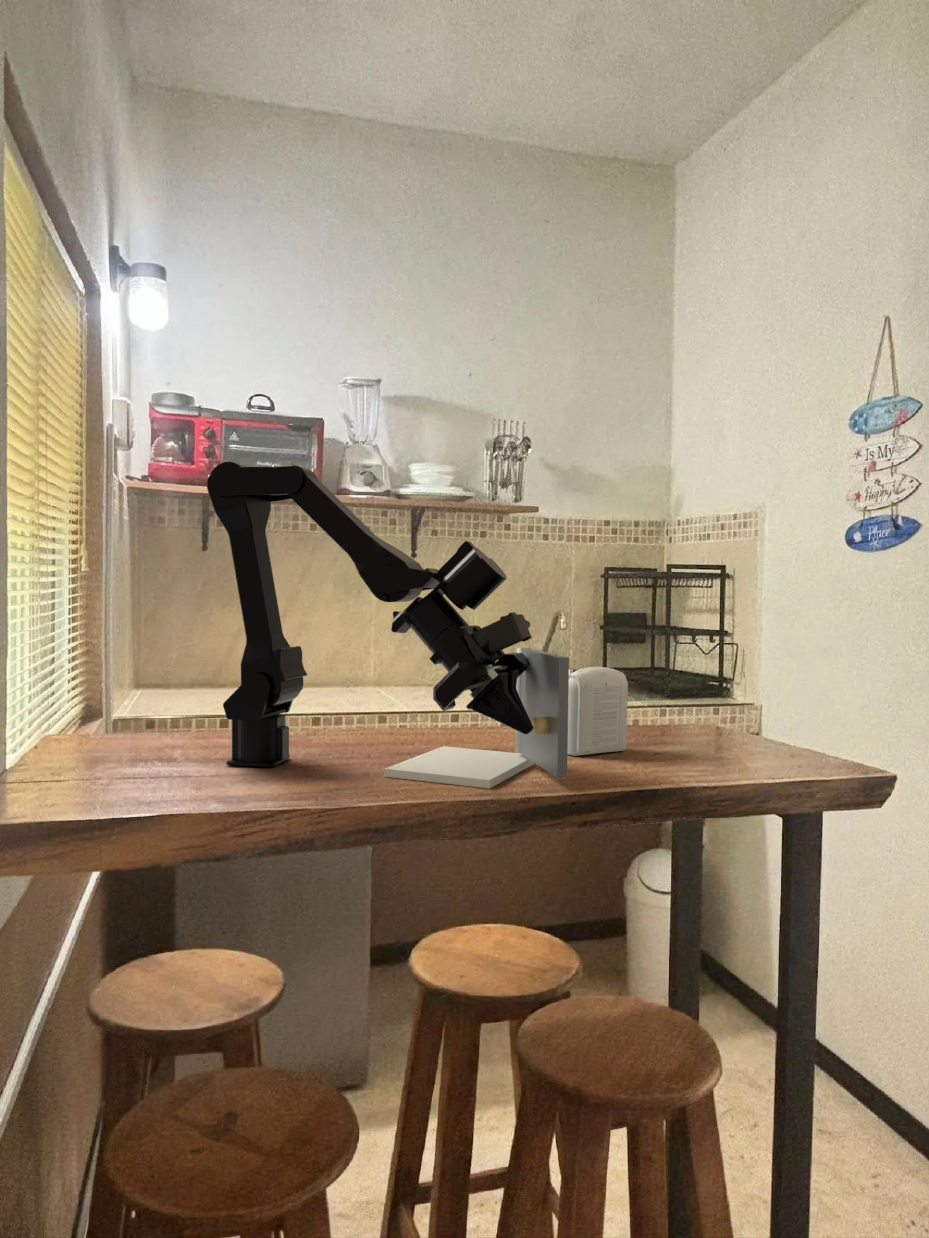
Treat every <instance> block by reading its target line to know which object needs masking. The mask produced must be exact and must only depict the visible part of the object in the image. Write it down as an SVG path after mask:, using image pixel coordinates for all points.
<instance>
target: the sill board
mask: <svg viewBox="0 0 929 1238" xmlns="http://www.w3.org/2000/svg"><path fill="white" fill-rule="evenodd" d="M535 764H536V763H534V762H533V761H531V760H530V759H528V758H527V757H525V756H524V755H522V754H521V753H517V752H508V751H507V752H506V751H499V750H490V749H489V750H486V749H477V748H476V749H475V748H465V747H457V746H455V747H454V746H445V745H443V746H440V747H437V748H434V749H432V750H430V751H428V752H424V753H422V754H420V755H417V756H415V757H414V756H413V757H411V758H409V759H406V760H403V761H402V762H398V763H396V764H393V765H390V766H388V767H385V768H384V777H385V778H393V779H402V780H410V781H419V782H420V781H421V782H427V783H428V782H430V783H435V784H444V785H445V784H446V785H453V786H454V785H455V786H462V787H463V786H465V787H472V788H481V789H482V788H483V789H492V788H494V787H495V786H496V785H499V784H500V783H502V782H504V781H506V780H509V778H512V777H513V776H515V775H517V774H518V773H520V772H522V771H523V770H526V769H528V768H529V767H531V766H533V765H535Z"/></svg>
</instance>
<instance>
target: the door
mask: <svg viewBox="0 0 929 1238" xmlns="http://www.w3.org/2000/svg"><path fill="white" fill-rule="evenodd" d="M516 653H523V654H524V655H525V656H526V657H527V658H528V661H529V663H530V664H529V666H528V667H527V669H526V670H525V671H524V672H523V673H522V674H521V675H520V676H519V677H518V678H517V684H516V689H517V692H518V694H519V697H520V699H521V701H522V704H523V706H524V708H525V710H526V712H527V714H528V716H529V719H530V721H531V723H532V725H533V727H534V729H533V730H532V731H531V732H530V733H529V734H523V733H521V732H519V731H517V730H515V729H514V731H515V732H514V733H515V736H514V737H515V739H514V740H515V741H514V742H515V744H514V747H515V748H514V750H515V751H514V753H521V754H522V755H524V756H525V757H527V758H528V759H530V760H531V761H533V762H534V763H535V764H536V765H537V766H539V767H540V768H541V769H543V770H545V771H546V772H548V773H550V774H551V775H552V776H554V777H556V778H557V779H559V778H560V779H562V778H564V779H565V778H568V754H567V752H568V690H569V674H570V657H568V656H564V655H558V654H555V653H551V652H546V651H542V650H539V649H533V648H532V647H516Z"/></svg>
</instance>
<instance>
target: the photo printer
mask: <svg viewBox="0 0 929 1238" xmlns="http://www.w3.org/2000/svg"><path fill="white" fill-rule="evenodd" d="M628 689H629V684H628V680H627V677H626V675H625V673H624V672H622V671H619V670H617V669H616V668H615V669H614V668H611V667H605V666H604V667H603V666H589V667H585V668H580V669H577V670H576V671H573V672H570V673H569V690H568V752H567V756H573V757H579V756H587V755H596V754H605V753H606V754H607V753H613V752H614V753H615V752H624V751H625V750H626V749H627V739H628V738H627V736H628V735H627V734H628V733H627V730H628V727H627V726H628V725H627V724H628V698H629V697H628V695H629V694H628V693H629V692H628V691H629V690H628Z"/></svg>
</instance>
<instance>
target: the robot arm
mask: <svg viewBox="0 0 929 1238" xmlns="http://www.w3.org/2000/svg"><path fill="white" fill-rule="evenodd" d="M206 479H207V480H206V489H207V493H208V495H209V500H210V502H211V505H212V508H213V511H214V513H215V515H216V517H217V518H218V520H219V521H220V523H221V524H222V526H223V527H224V529H225V531H226V532H227V535H228V538H229V545H230V550H231V556H232V562H233V563H232V564H233V568H234V574H235V581H236V586H237V587H236V588H237V592H238V599H239V603H240V610H241V615H242V621H243V627H244V632H245V642H246V643H245V645H244V650H243V653H242V654H243V655H242V658H241V662H240V686H238V688H237V689H235V690H234V692H233V693H232V694H231V695H230V696H229V697H228V698H227V699H226V700H225V701H224V702H223V704H222V707H223V711H224V713H225V717H226V720H229V721H231V758H230V759H228V760H226V761H225V762H226V766H238V767H239V766H243V767H264V768H265V767H266V768H273V767H276V766H278V765H279V764H282V763H283V762H285V761H287V760H288V759H290V758H291V755H290V727H289V725H286V713H290V711H291V707H292V705H293V701H294V700H295V699H297V697H298V696H299V694H300V693H301V691H303V688H304V677H306V676H308V673H307V671H306V669H305V668H304V663H303V650H302V649H303V648H302V647H301V646H300V645H298V646H297V645H296V646H291V645H290V644H289V642H288V640H287V639H286V638H285V635H284V633H283V627H282V622H281V615H280V614H281V613H280V610H279V609H280V608H279V604H278V598H277V592H276V585H275V580H274V574H273V568H272V563H271V556H270V552H269V546H268V545H269V544H268V540H267V534H266V533H267V532H266V529H267V525H268V521H269V518H270V514H271V509H272V507H271V503H273V502H285V501H289V500H293V502H294V503H295V504H297V506H299V508H300V509H301V510H303V511H304V513H305V514H307V516H309V517H310V519H312V520H313V521H314V522H315V523H316V524H317V525H318V526H319V528H320V529H322V530H323V531H324V532H325V533H326V534H327V535H328V536H329V537H330V538H331V539H332V541H334V543H336V544H337V545H338V546H339V547H340V548H341V549H342V550H343V551H344V552H345V553H346V554H347V555H348V556H349V558H350V559H351V561H352V562H353V564H354V567H355V569H356V570H357V573H358V574H359V576H360V578H361V580H362V581H363V582H364V583H365V585H366V587H367V588H368V589H369V591H370V592H371V593H372V595H373V596H374V597H375V598H376V599H378V600H379V601H382V602H384V603H400V602H401V603H405V602H411V601H412V602H411V603H410V604H409V605H407V607H406V608H404V609H403V610H402V611H396V610H394V611H393V612H392V616H393V617H392V618H393V619H392V624H391V629H390V630H391V633H397V634H406V633H407V632H409V630H410V629H411V630H412V631H413V633H415V635H416V636H417V637H418V638H419V640H420V641H421V642H422V643H423V644H424V645H425V646H426V648H427V649H428V650H429V651H430V652H431V654H432V655H431V656H430V657H429V660H430V661H431V662H432V663H433V665H440V664H441V665H442V666H443V668H444V669H445V670H446V671H447V673H446V674H445V675H444V677H442V679H441V680H440V681H439V682H437V683H436V685H434V686H433V687H432V688H433V689H432V690H433V691H432V692H433V693H432V694H433V695H432V699H433V701H434V702H435V703H436V704H437V706H438V707H439V708H440V709H441V710H442V712H445V711H448V710H451V709H454V708H455V707H456V706H457V705H456V704H457V703H456V701H455V700H457V699H458V698H459V697H460V696H461V695H462V694H463V693H464V692H465V691H470V692H471V693H470V694H469V696H470V697H471V698H472V699H471V701H470V702H469V703H468V704H466V706H465V707H466V709H468V710H471V711H474V712H476V713H479V714H481V715H483V716H486V717H488V718H490V719H492V720H494V721H496V722H498V723H501V724H503V725H506V726H507V727H509V728H511V729H513V730H514V731H515V730H517V731H519V732H521V733H523V734H529V733H530V732H531V731H532V730H533V729H534V727H533V725H532V723H531V721H530V719H529V716H528V714H527V712H526V710H525V708H524V706H523V704H522V701H521V699H520V697H519V694H518V692H517V689H516V684H517V678H518V677H519V676H520V675H521V674H522V673H523V672H524V671H525V670H526V669H527V667H528V666H529V664H530V663H529V661H528V658H527V657H526V656H525V655H524V654H523V653H517V652H514V651H513V652H508V653H505V652H504V649H507V648H509V647H513V646H515V645H516V644H518V643H521V642H527V641H529V640H531V639H532V635H531V632H530V629H529V628H530V627H531V622H530V621H529V620H527V619H526V617H525V616H524V615H523V614H521V613H520V614H517V613H516V612H515V611H514V612H513V611H511V612H508V614H506V615H502V616H500V617H499V619H498V620H496V621H494V622H491V623H489V624H488V625H485V626H484V627H481V626H479V625H476V624H475V625H469V623H468V622H467V621H466V620H465V619H464V618H463V616H462V615H461V614H460V613H459V612H458V611H457V610H456V608H458V609H459V610H461V611H464V610H465V609H466V608H467V607H468V608H469V609H471V610H473V611H475V610H476V609H478V607H480V606H481V605H482V604H483V603H484V602H485V600H487V599H488V598H490V596H491V595H492V594H493V593H494V592H495V591H496V590H497V589H498V588H499V587H500V586H501V585H502V584H503V583H505V581H506V580H507V579H508V578H507V575H506V573H505V572H504V570H503V569H502V568H501V567H500V566H499V565H498V563H496V561H494V559H492V558H490V557H489V556H487V555H486V554H485V553H484V552H483V551H481V550H480V549H479V548H478V547H476V546H475V544H474V543H472V541H468V540H465V541H464V542H462V543H461V544H460V546H458V548H457V550H456V551H455V553H454V554H453V555H452V556H451V557H450V558H449V559H447V561H446V562H445V563H444V564H443V565H442V566H441V567H440V568H439V569H438V568H431V567H430V568H429V567H426V568H425V569H424V568H423V566H421V564H420V562H417V561H416V560H415V558H414V559H413V558H412V557H411V556H409V555H407V554H406V553H404V552H403V551H401V550H400V549H399V548H397V547H395V546H393V545H391V544H390V543H389V542H386V541H385V540H383V539H382V538H381V537H379V536H377V535H376V534H375V533H374V532H373V531H372V530H371V529H370V528H369V527H368V526H367V525H366V524H364V522H363V521H361V519H359V518H358V517H357V516H356V515H355V514H354V513H353V512H352V511H351V510H350V508H348V507H347V506H346V505H345V504H344V503H343V502H342V501H341V500H340V499H339V498H338V497H337V496H336V495H335V494H334V493H333V492H332V490H330V489H329V488H328V487H327V486H326V485H325V484H323V482H322V481H321V480H319V478H318V477H317V475H316V473H315V472H314V471H312V470H311V469H308V468H306V467H304V466H303V467H302V466H299V465H296V464H290V465H284V466H247V465H243V464H240V463H236V462H234V461H224V462H221V463H219V464H217V465H216V466H215V467H214V468H212V470H211V472H210V474H208V475H207V478H206ZM429 590H431V591H430V592H429V593H428V594H426V596H424V597H422V596H420V595H421V594H422V592H423V591H424V592H425V591H429ZM447 599H448V600H447ZM449 601H450V602H451V603H452V604H453V605H454V606H455V607H456V608H454V606H453V605H452V604H451V603H450V602H449Z"/></svg>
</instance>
